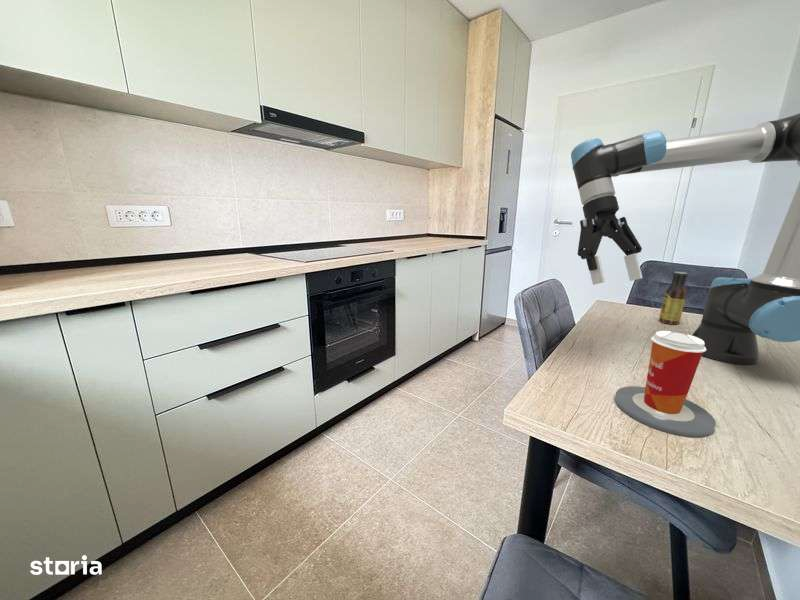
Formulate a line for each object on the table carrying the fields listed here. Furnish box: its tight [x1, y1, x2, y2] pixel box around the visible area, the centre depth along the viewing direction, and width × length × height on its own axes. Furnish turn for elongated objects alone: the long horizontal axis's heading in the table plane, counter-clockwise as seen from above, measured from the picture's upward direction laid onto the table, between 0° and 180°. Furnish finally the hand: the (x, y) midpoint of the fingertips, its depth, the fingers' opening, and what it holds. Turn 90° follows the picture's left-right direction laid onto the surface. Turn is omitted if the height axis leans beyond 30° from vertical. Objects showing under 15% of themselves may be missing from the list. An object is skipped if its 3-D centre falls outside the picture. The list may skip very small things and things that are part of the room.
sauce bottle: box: [659, 271, 689, 326], centre depth 122 cm, size 6×6×20 cm
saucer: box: [614, 385, 717, 438], centre depth 66 cm, size 16×16×1 cm
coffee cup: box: [644, 330, 706, 414], centre depth 64 cm, size 8×8×15 cm
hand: (618, 281), depth 79 cm, fingers open, 13 cm apart
